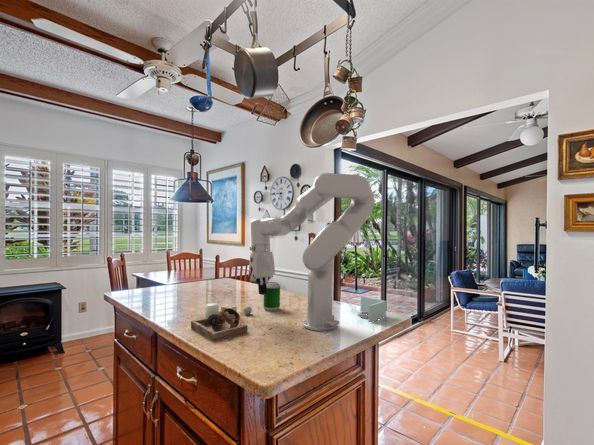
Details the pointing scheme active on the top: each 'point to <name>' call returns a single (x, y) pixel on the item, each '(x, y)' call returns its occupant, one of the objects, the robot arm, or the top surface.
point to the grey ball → (247, 310)
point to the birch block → (230, 308)
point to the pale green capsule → (212, 309)
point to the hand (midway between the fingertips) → (262, 294)
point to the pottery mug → (224, 318)
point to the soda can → (272, 297)
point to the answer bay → (214, 336)
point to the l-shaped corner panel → (372, 308)
